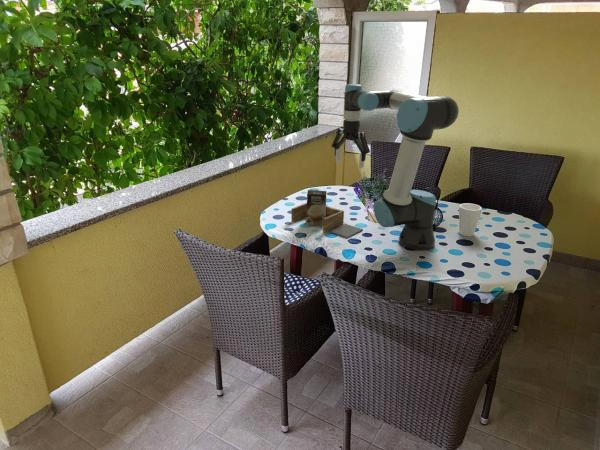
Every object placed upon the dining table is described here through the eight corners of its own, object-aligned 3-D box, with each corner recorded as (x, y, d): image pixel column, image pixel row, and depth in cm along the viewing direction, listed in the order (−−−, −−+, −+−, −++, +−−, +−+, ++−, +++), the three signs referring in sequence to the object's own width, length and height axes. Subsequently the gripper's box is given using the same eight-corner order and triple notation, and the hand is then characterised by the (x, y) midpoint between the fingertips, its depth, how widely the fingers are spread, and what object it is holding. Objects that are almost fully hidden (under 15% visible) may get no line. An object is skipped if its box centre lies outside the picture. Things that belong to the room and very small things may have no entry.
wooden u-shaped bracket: (343, 224, 216) (343, 211, 213) (324, 233, 206) (325, 219, 203) (310, 214, 228) (310, 201, 226) (291, 222, 218) (291, 208, 216)
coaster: (362, 230, 210) (362, 229, 209) (347, 238, 201) (347, 236, 201) (345, 225, 216) (345, 223, 215) (329, 232, 207) (329, 230, 207)
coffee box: (305, 226, 214) (306, 194, 208) (306, 221, 220) (307, 189, 214) (325, 227, 213) (326, 194, 207) (325, 222, 219) (326, 190, 213)
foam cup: (478, 238, 203) (483, 211, 198) (456, 236, 205) (461, 209, 200) (475, 230, 211) (479, 204, 206) (454, 228, 213) (458, 202, 208)
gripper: (379, 122, 202) (376, 168, 210) (334, 115, 217) (333, 159, 225) (370, 124, 196) (366, 171, 205) (325, 117, 212) (323, 161, 220)
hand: (349, 165), depth 215 cm, fingers open, 13 cm apart
